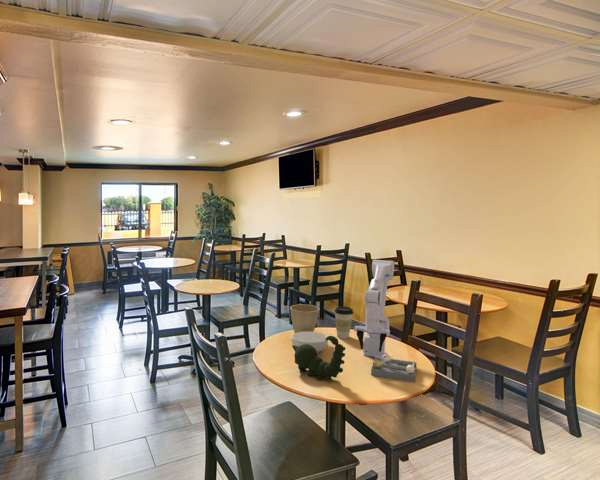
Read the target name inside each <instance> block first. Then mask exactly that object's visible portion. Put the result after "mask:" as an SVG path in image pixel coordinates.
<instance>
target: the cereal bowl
mask: <svg viewBox="0 0 600 480" xmlns="http://www.w3.org/2000/svg"><path fill="white" fill-rule="evenodd" d="M328 336H329V335H326V334H325V333H322V332H318V331H314V332H309V331H307V332H298V333H295V332H294V333H293V334H292V335H291V344H292V345H295V346H301V345H303V344H309V345H311V346H313V347H314V348H315V349H316V351H317V353H319V352H321V351H323V350H325V349H326V347H327V346H328V343H329V342H328V341H329V340H325V339H326V337H328Z"/></svg>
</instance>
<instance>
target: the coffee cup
mask: <svg viewBox="0 0 600 480" xmlns="http://www.w3.org/2000/svg"><path fill="white" fill-rule="evenodd" d="M333 312H334V313H335V315H334V317H335V318H334V319H335V328H336V329H335V331H336V338H337V339H343V340H344V339H345V340H346V339H349V338H350V331H351V328H352V322H353V321H352V320H353V314H354V310H353V308H352V307H350V306H337V307H335V310H334V311H333Z"/></svg>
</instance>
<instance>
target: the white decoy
mask: <svg viewBox="0 0 600 480" xmlns="http://www.w3.org/2000/svg"><path fill="white" fill-rule="evenodd" d="M406 371H407V372H408V373H413V372H414V367H413V366H412V365H408V366H407V367H406Z"/></svg>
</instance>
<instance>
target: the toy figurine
mask: <svg viewBox="0 0 600 480" xmlns="http://www.w3.org/2000/svg"><path fill="white" fill-rule="evenodd" d="M327 336H328V337H326V339H325V340H328V341H330V342H331V344H332V345H333V346H334V350H333V352H332V357H331V359H330V361H329V362H327V361H325V360H324V359H323V358H322V357H321V356H319V354H318V353H319V352H317V351H316V349H315V348H314V347H313V346H311V345H309V344H303V345H301V346H295V345H293V344H292V347H291V348H292V349H293V350H294V364H296V365H297V368H298V370H299V371H300V372H305V371H306V370H307V369H308V370H307V375H308V376H310V377H312V376H313V375H314V374H316V375H317V376H316V379H317V380H318V381H320V380H322V379H324V378H326V380H327V381H329V382H330V381H331V380H332V378H335V379H336V378H337V377H338V375H339V374H340V373H343V371H344V369H343V367H341V365H344V364H345V360H344V359H343V357H345V356H346V353H345V352H344V351H346V347H345V346H343V344H341V343H339V340H338V339H339V338H338V337H337V336H336V337H335V336H333V335H327Z"/></svg>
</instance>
